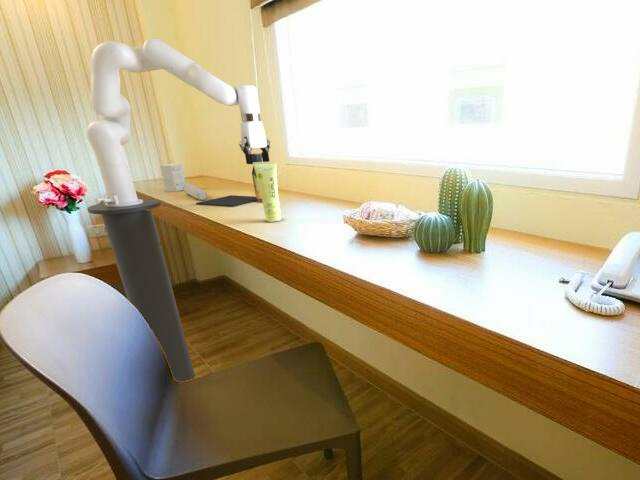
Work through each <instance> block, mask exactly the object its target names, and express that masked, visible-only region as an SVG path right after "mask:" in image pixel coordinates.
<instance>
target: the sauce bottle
mask: <svg viewBox="0 0 640 480" xmlns="http://www.w3.org/2000/svg"><path fill="white" fill-rule="evenodd" d="M251 154H252V156H253V162H263V160H262V154H261V152H255V153H254V152H253V153H251ZM251 177H252V182H253V183H252V184H253V190H254V195H255V197H256V198H257V201H256V202H258V203H263V201H262V197H261V192H260V188H259V184H258V180H257V176H256V172H255V169H254V166H253V165H252V171H251Z"/></svg>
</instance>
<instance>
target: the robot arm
mask: <svg viewBox="0 0 640 480" xmlns="http://www.w3.org/2000/svg"><path fill="white" fill-rule="evenodd" d="M120 70H124V71H128V72H129V73H145V72H151V71H159V70H164V71H166V72H167V73H168V74H171V75H172V76H174V77H175V78H177V79H179V80H180V81H182V82H183V83H185V84H187V85H188V86H190V87H193V88H194V89H196V90H198V91H199V92H201V93H202V94H204V95H206V96H207V97H209V98H210V99H212V100H214V101H216V102H217V103H219V104H221V105H224V106H227V107H228V106H229V107H232V106H239V112H240V113H239V114H240V118H241V119H240V120H241V123H240V141H239V142H238V145H239V148H240V150H241V151H242V152H243V154H244V157H245V163H246V164H247V165H253V156H252V154H253V153H252V151H253V149H255V150H257V149H260V151H261V152H260V153H261V154H262V162H270V156H269V152H270V148H271V141H270V140H269V139H268V138H267V136H266V130H265V127H264V124H263V121H262V115H261V109H260V108H261V107H260V102H259V94H258V90H257V87H256V86H255V85H253V84H239V85H230V84H229V83H226V82H225V81H223V80H221V79H220V78H218V77H216V76H215V75H214V74H212V73H210V72H209V71H208V70H206V69H204V68H203V67H201V65H199V64H198V63H197V62H196V61H194V60H193V59H191V58H190V57H188V56H187V55H185V54H183V52H180V51H178V50H177V49H175V48H174V47H172V46H171V45H169V44H167V42H164V41H163V40H161V39H159V38H154V37H151V38H148V39H146V40H145V41H144V42H143V44H142V45H141V46H130V45H128V44H126V43H124V42H120V41H117V40H116V41H115V40H109V41H104V42H101V43H99V44H98V45H96V47H94V49H93V51H92V53H91V57H90V99H89V100H90V106H91V109H92V111H93V112H95V114H97V115H99V116H101V119H99V120H98V119H97V120H93V121H92V122H90V123H89V124H88V126H87V127H86V137H87V139H88V142H89V144H90V146H91V149H92V150H93V151H92V152H93V153H94V156H95V159H96V162H97V165H98V168H99V172H100V175H101V178H102V182H103V185H104V188H105V191H106V194H104V196H103V197H99V198H95V200H94V201H95V204H96V205H97V204H101V203H105V205H106V207H126V206H133V205H138V204H142V203H143V200H141V199H142V198H138V195H137V191H136V187H135V184H134V179H133V176H132V173H131V169H130V164H129V162H128V158H127V155H126V153H125V151H124V148H123V146H125V145H126V144H127V143H128V142H129V140H130V137H131V119H132V118H131V117H132V109H131V104H130V102H129V100H128V99H127V98H126V96H124V95H123V94H122V93H121V77H120Z"/></svg>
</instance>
